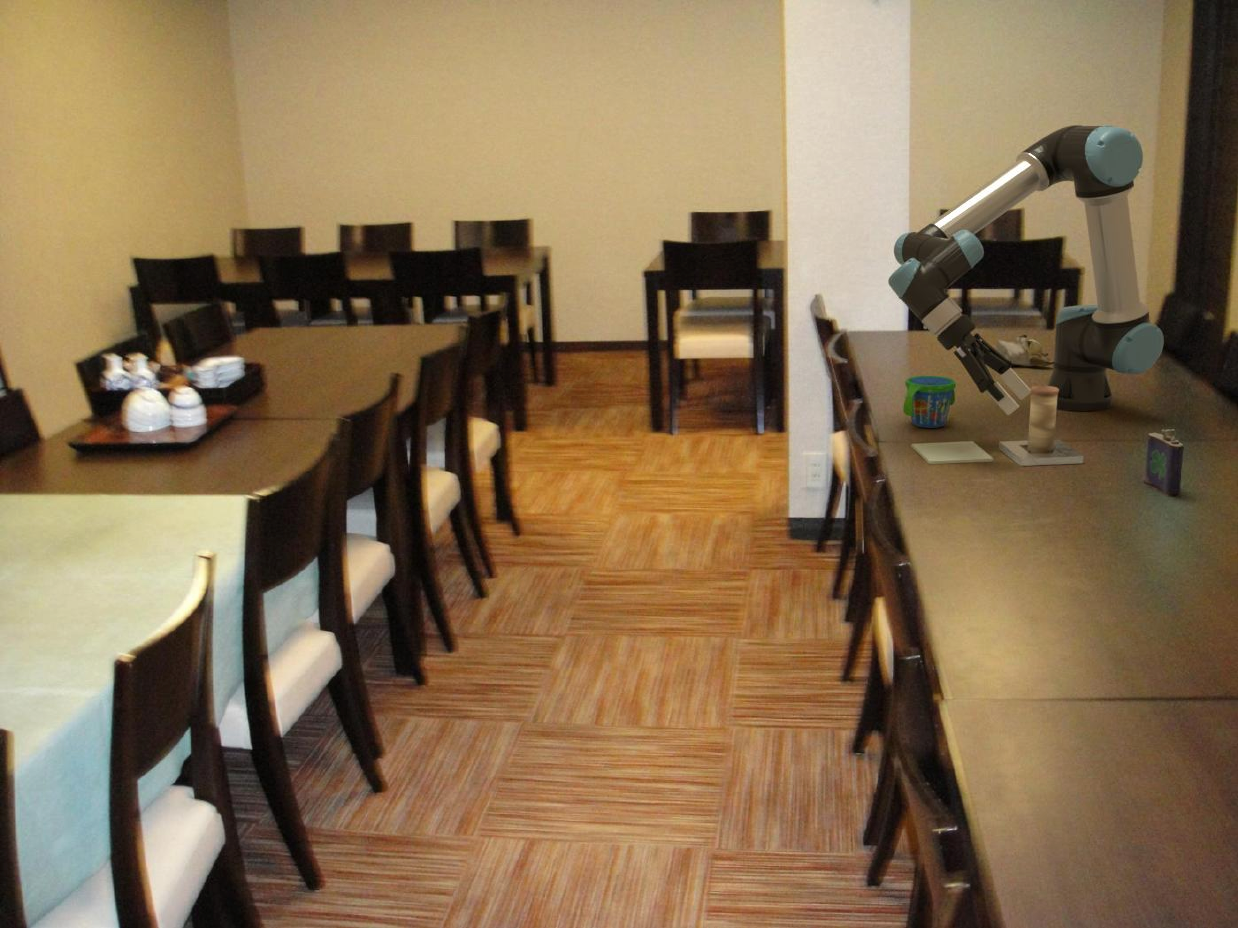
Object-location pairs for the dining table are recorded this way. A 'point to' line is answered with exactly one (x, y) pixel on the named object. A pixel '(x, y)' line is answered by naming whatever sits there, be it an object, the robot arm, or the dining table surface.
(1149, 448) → the flask
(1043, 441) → the plug
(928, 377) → the snack cup
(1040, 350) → the ceramic sculpture
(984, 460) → the mat
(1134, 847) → the dining table surface
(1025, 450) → the socket
